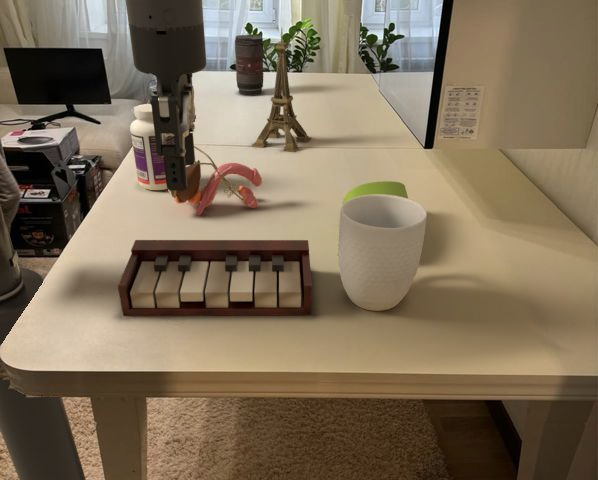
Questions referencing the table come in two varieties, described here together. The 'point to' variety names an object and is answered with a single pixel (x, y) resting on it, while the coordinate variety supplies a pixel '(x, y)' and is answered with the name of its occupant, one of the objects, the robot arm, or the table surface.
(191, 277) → the key
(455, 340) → the table surface
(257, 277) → the piano
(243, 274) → the key
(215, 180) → the anatomy model
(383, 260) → the mug
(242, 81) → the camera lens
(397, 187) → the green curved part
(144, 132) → the pill bottle
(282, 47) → the eiffel tower
